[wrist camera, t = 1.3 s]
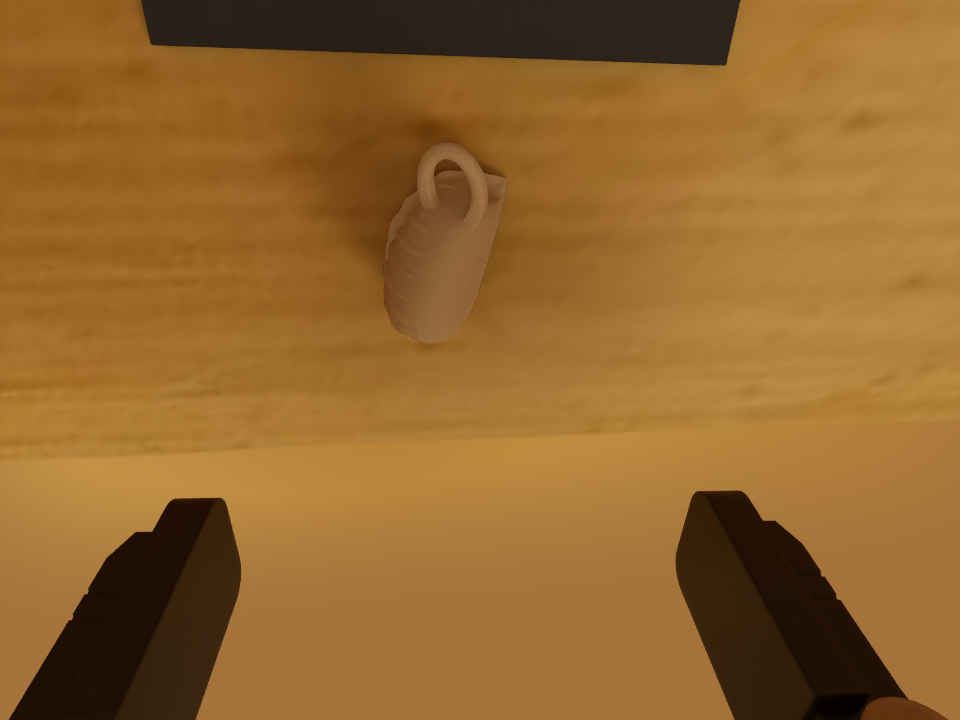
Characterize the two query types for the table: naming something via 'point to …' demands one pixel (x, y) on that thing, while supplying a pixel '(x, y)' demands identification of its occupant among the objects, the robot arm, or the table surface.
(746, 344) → the table surface
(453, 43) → the mat
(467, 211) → the decorative ornament
